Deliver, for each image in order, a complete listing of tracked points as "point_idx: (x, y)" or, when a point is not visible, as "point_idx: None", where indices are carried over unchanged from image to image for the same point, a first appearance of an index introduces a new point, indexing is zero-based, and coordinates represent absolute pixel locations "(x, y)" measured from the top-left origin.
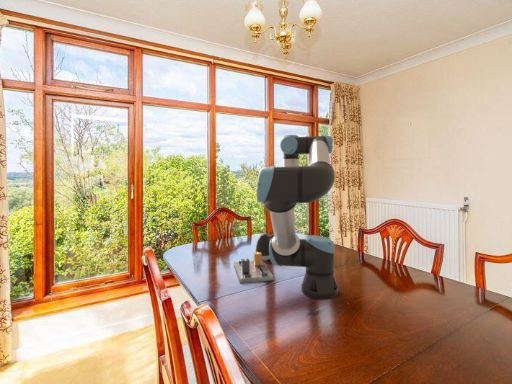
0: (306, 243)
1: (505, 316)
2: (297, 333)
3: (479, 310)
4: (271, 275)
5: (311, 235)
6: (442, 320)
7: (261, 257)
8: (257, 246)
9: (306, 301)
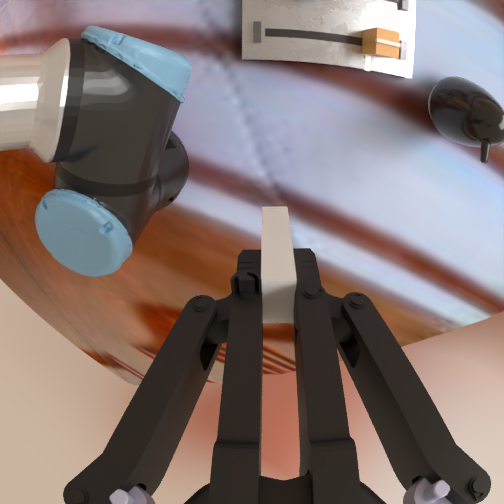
0: (59, 183)
1: (82, 350)
2: None
3: (91, 343)
4: (250, 54)
5: (98, 229)
6: (58, 293)
7: (371, 53)
8: (469, 84)
9: None
